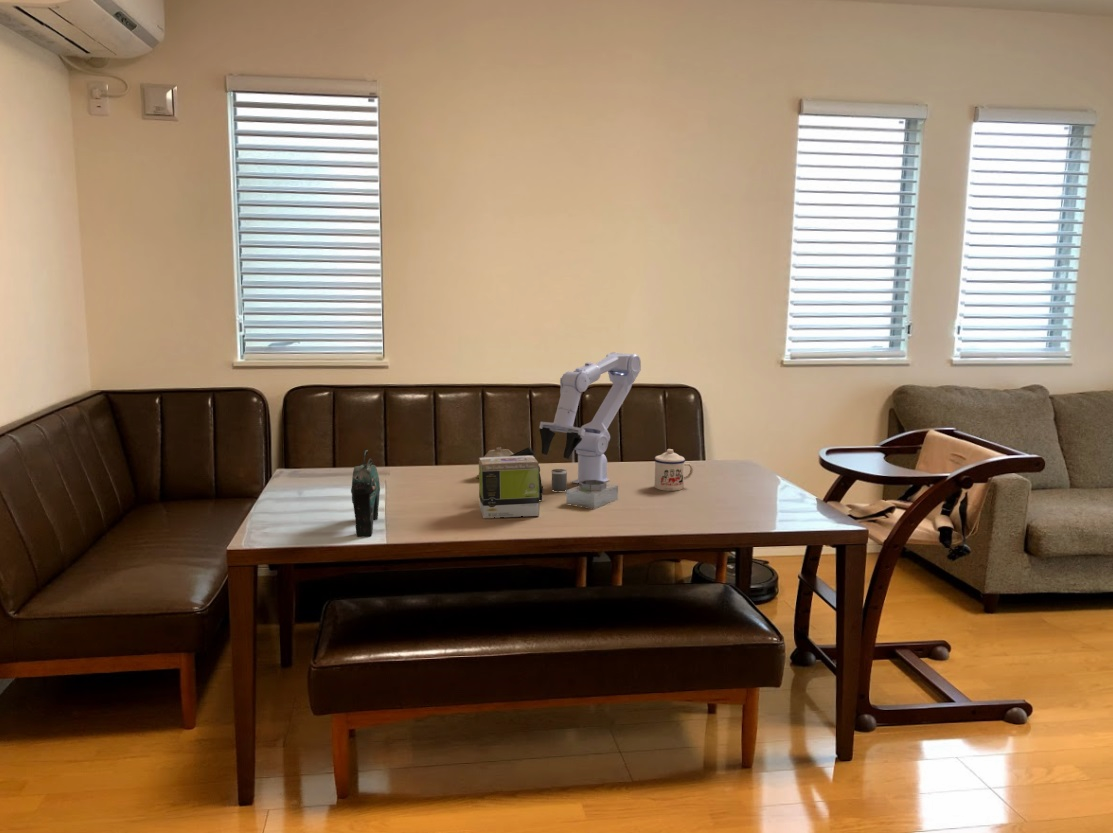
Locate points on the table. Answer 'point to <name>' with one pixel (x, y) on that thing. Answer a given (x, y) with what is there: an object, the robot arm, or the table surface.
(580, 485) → the square base socket
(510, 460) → the tea box
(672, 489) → the teacup with lid
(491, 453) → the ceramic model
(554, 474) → the cup
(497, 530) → the table surface
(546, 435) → the robot arm
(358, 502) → the ceramic cat
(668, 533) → the table surface
